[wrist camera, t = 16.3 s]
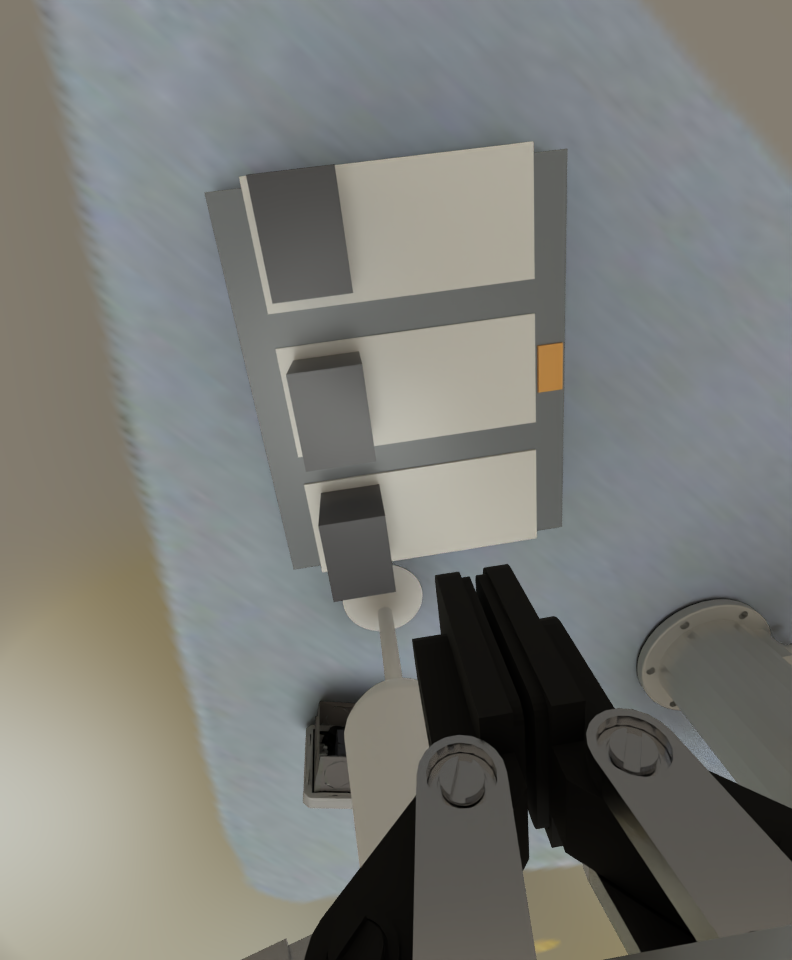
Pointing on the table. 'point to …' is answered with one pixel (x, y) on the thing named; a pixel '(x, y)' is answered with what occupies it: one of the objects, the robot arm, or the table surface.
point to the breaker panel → (409, 347)
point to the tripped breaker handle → (331, 411)
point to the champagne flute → (385, 720)
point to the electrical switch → (327, 759)
